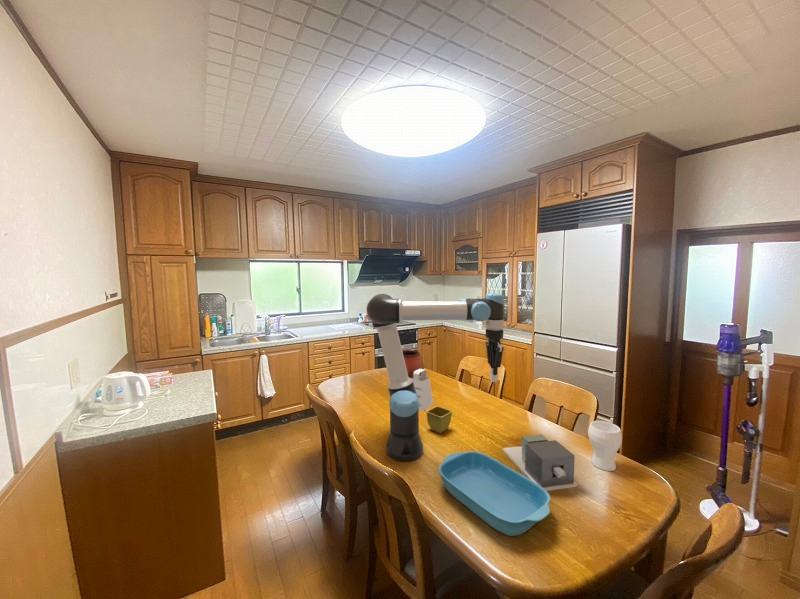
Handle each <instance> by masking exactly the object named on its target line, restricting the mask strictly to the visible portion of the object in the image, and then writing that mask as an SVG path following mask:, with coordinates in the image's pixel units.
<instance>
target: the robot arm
mask: <svg viewBox="0 0 800 599" xmlns="http://www.w3.org/2000/svg"><path fill="white" fill-rule="evenodd" d="M504 308H505V299H504V295H503V294H502V293H487V294H485V297H483V298H482V297H481V298H460V299H459V300H458V301H454V300H453V301H452V300H450V301H447V300H446V301H444V300H443V301H441V300H440V301H437V300H436V301H433V300H432V301H431V300H430V301H429V300H428V301H427V300H426V301H419V300H418V301H407V300H406V301H403V300H402V299H401V298H393V297H392V296H391V295H389V294H387V293H378V294H375V295H374V296H373V297H372V298H371V299H370V300H369V301H368V303H367V305H366V314H367V317H368V319H369V320H371V323H372V327H373V329H375V330H376V331H377V333H378V338H379V343H380V346H381V352H382V355H383V359H384V362H385V367H386V371H387V372H386V373H387V375H388V379H389V382H388V385H387V389H388V394H389V397H390V399H389V402H388V403H389V404H388V405H389V425H390V426H389V428H390V430H389V431H390V432H389V437H388V439H387V442H386V447H385V448H386V449H385V452H386V455H387V456H388V457H389V458H390V459H391V460H394V461H398V462H412V461H416V460H417V459H419V458H420V457H422V456H423V453H424V443H423V442H422V440H421V436H420V432H419V431H420V430H419V427H420V426H419V425H420V424H419V423H420V422H419V420H420V419H419V415H420V414H419V413H420V411H419V406H420V405H419V401H418V397H417V393H416V390H415V389H416V388H415V387H414V383H413V380H412V379H411V378H409V377H408V373H407V368H406V364H405V360H404V356H403V352H402V350H403V348H402V343H401V341H400V339H401V338H400V336H399V331H398V327H397V325H398V324H401V323H402V322H404V321H475V322H484V323H485V328H486V329H485V337H486V338H487V339H488V340H487V341H485V347H486V354H487V355H486V357H487V364H488V365H489V367H490V368H489V371H490V374H489V379H490V380H489V381H490V382H491V383H497V382H498V376H499V375H498V368H501V366H502V358H503V352H504V350H505V348H504V347H503V346H501V344H502V343H501V340H502V339H503V338H504V323H505V322H504V320H505V319H504V315H505V314H504V313H505V312H504V310H505V309H504Z"/></svg>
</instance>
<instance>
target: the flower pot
mask: <svg viewBox="0 0 800 599" xmlns="http://www.w3.org/2000/svg"><path fill="white" fill-rule="evenodd" d="M452 414H453V411H452V410H450V409H447V408H445V407H442V406H438V405H437V406H434V407H432V408H429V409H427V411H426V419H427V424H428V426H429V428H430V429H431V430H432V431H434V432H436V433H439V434H441V433H443V432H445V431H447V429H448V428H449V427H450V425H451V421H452V416H453V415H452Z"/></svg>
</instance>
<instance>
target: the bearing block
mask: <svg viewBox="0 0 800 599" xmlns="http://www.w3.org/2000/svg"><path fill="white" fill-rule="evenodd" d="M553 466H559V467H560V468H561V469H563V470H564V471H565V472H566V477H565V478H564V479H562V480H561V479H559V478H558V477H557V476H556V475H555V474H554V473H553ZM525 470H526V472H527V473H528V474H529V475H530V476H531V477H532V478H533V479H534V480H535V481H536V482H537V484H538V485H539V486H541V487H542V488H544V487H551V486H558V485H566V484H573V483H574V482H575V481H574V480H575V478H574V477H575V454H573V453H572V451H570V450H569V449H567V448H566V447H565V446H563V445H562V444H561V443H560V442H558V441H557V440H556V439H555V440H548V441H544V442H535V443H526V445H525Z"/></svg>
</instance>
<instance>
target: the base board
mask: <svg viewBox="0 0 800 599" xmlns="http://www.w3.org/2000/svg"><path fill="white" fill-rule="evenodd" d="M502 451H503V452H502V453H504V454H505V455H506V456H507V457H508V458H509V459H510V461H511V462H512V463H513V464H514V465H515V467H517V468H518V470H520V472H521V474H522V475H523V476H525V477H527V478H528V479H530V480H532V481H533V482H535V483H536V484H537V482H536V481H535V480H534V479H533V478H532V477H531V476H530V475H529V474H528V473H527V472H526V470H525V462H524V461H523V460H522V445H520V446H519V445H518V446H512V447H503V448H502ZM577 487H578V483H577V482H576V481H574V483H573V484H566V485H558V486H551V487H544V488H543V489H545V490H546V491H547V492H549V491H556V490H563V489H565V490H566V489H572V488H577Z"/></svg>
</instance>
